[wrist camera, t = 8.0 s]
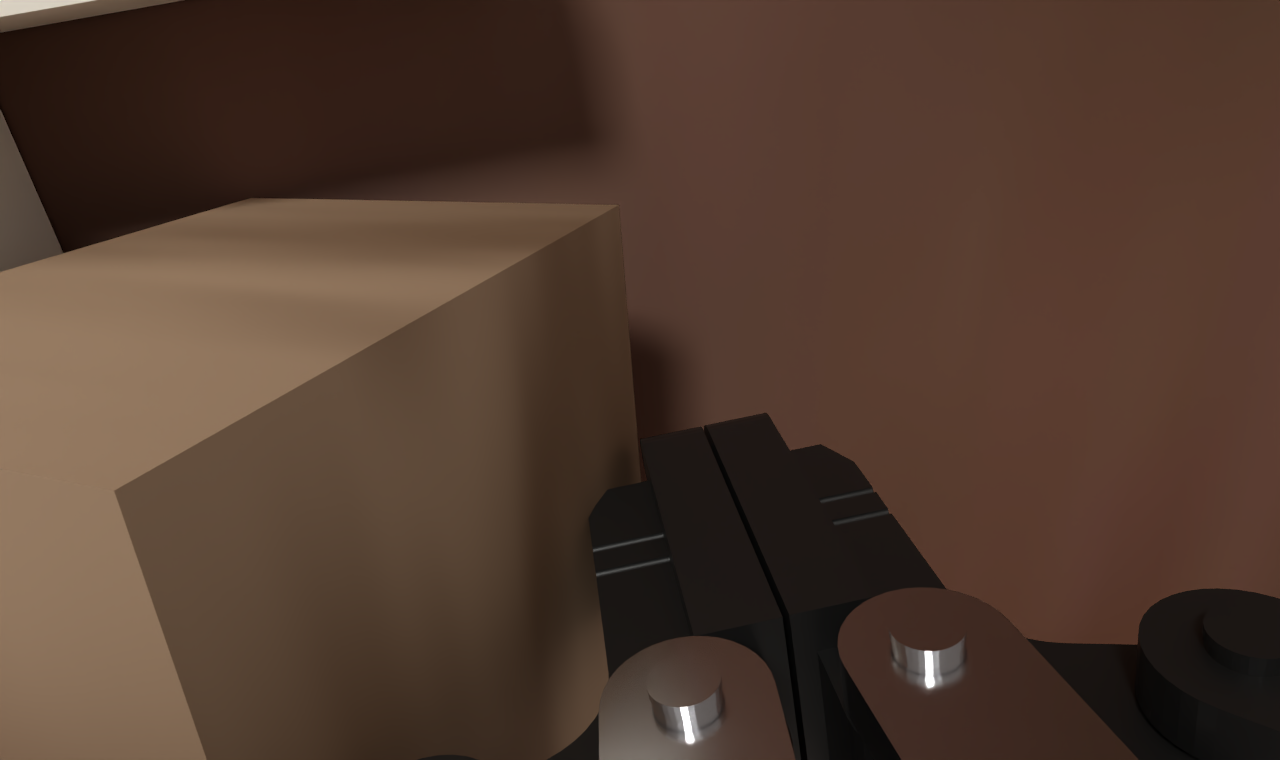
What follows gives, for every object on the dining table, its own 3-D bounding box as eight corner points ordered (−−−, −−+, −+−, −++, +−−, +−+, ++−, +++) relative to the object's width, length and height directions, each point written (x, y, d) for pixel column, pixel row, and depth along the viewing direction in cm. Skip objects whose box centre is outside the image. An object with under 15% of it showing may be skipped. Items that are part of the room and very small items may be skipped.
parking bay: (-246, -87, 9) (-585, -127, 6) (489, -209, 10) (481, -297, 7) (243, 882, 15) (181, 1088, 13) (684, 779, 16) (723, 954, 13)
